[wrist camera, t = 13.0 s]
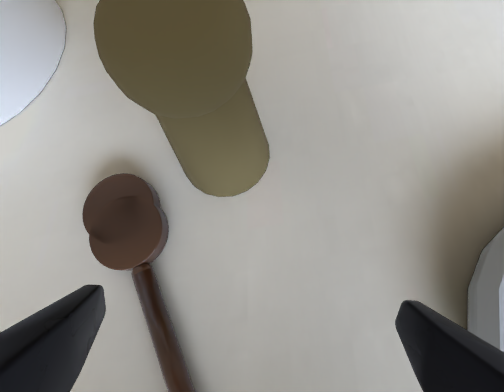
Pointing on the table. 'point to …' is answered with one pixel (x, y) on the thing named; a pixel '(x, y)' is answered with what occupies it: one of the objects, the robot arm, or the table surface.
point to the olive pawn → (190, 82)
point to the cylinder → (27, 51)
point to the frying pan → (488, 294)
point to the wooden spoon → (137, 258)
